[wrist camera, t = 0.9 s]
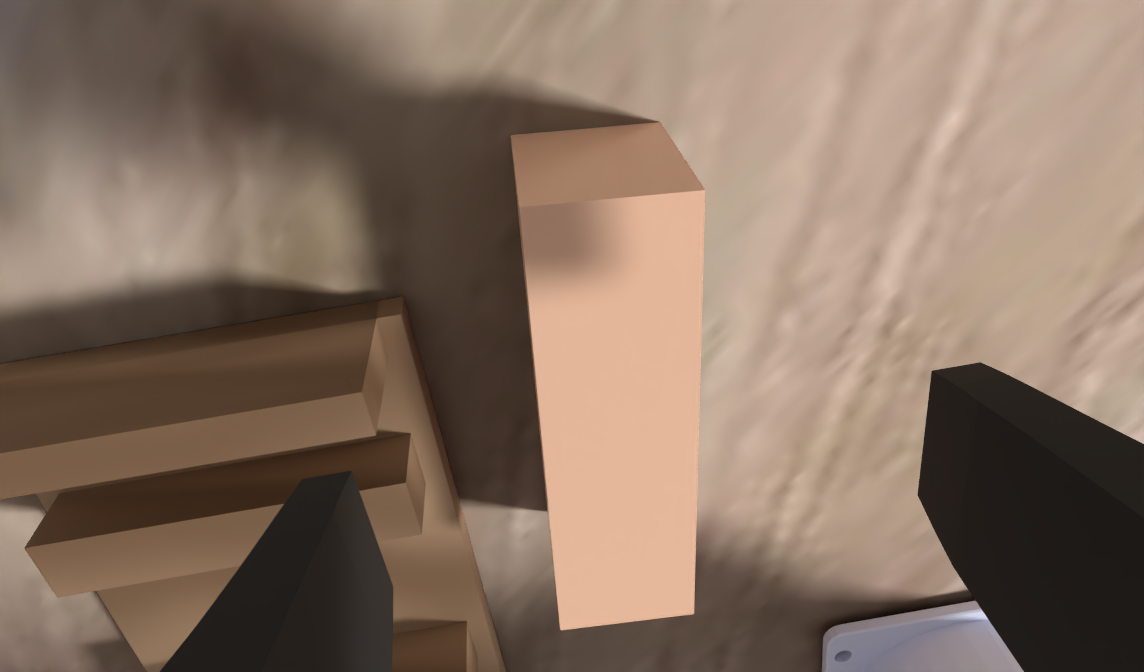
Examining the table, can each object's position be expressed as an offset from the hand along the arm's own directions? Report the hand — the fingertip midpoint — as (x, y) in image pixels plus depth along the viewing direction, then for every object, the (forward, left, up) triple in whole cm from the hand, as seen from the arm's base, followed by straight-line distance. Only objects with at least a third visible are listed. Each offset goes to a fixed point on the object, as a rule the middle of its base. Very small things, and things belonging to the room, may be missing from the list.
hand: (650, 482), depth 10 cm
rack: (-8, +8, -8) cm, 14 cm away
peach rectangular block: (-3, 0, -8) cm, 9 cm away
